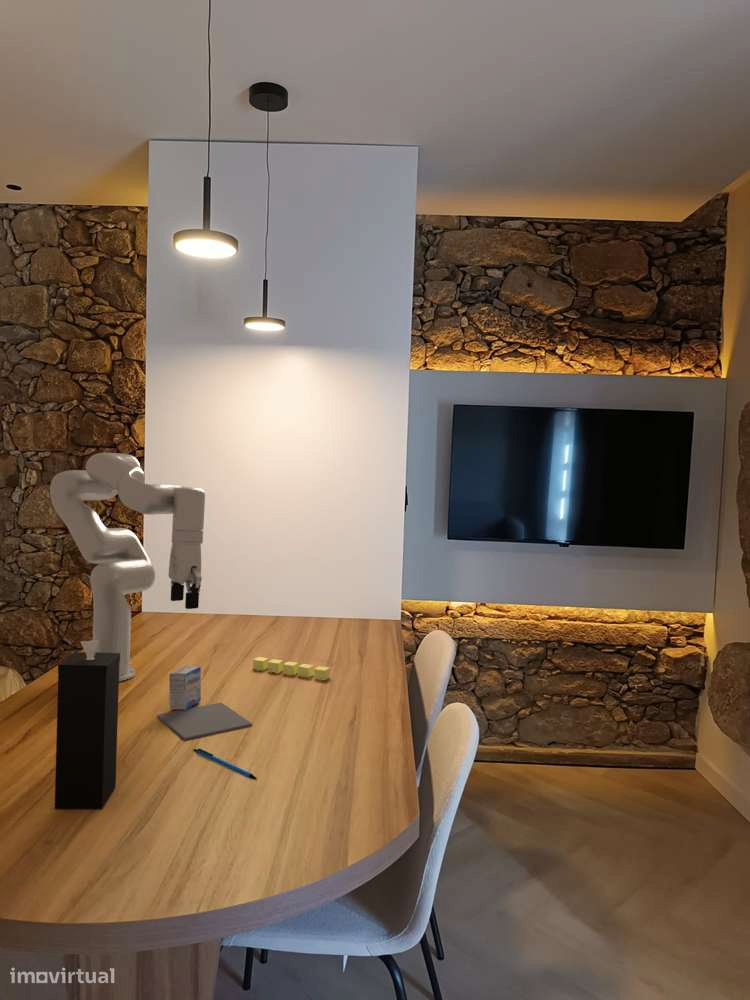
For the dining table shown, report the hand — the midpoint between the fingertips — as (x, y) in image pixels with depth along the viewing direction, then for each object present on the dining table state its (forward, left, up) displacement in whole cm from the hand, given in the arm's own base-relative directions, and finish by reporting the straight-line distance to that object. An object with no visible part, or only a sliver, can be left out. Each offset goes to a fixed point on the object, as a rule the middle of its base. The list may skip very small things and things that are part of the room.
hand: (184, 604), depth 169 cm
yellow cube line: (-5, +35, -24) cm, 43 cm away
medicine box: (+7, -2, -23) cm, 25 cm away
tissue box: (+41, -34, -24) cm, 58 cm away
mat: (+18, -2, -24) cm, 30 cm away
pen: (+41, -8, -24) cm, 48 cm away
